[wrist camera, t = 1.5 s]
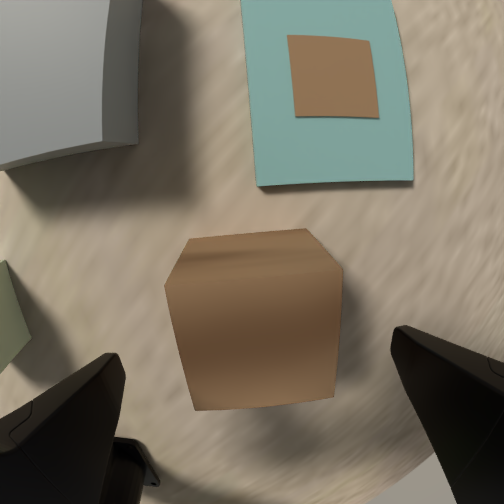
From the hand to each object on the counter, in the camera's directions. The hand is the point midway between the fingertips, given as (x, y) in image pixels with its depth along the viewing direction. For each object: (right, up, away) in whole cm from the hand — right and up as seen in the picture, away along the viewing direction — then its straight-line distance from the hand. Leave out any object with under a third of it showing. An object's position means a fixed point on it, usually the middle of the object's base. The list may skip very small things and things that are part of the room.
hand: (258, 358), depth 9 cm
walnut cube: (0, +2, +5) cm, 5 cm away
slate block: (-9, +11, +1) cm, 15 cm away
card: (+3, +10, +2) cm, 11 cm away
